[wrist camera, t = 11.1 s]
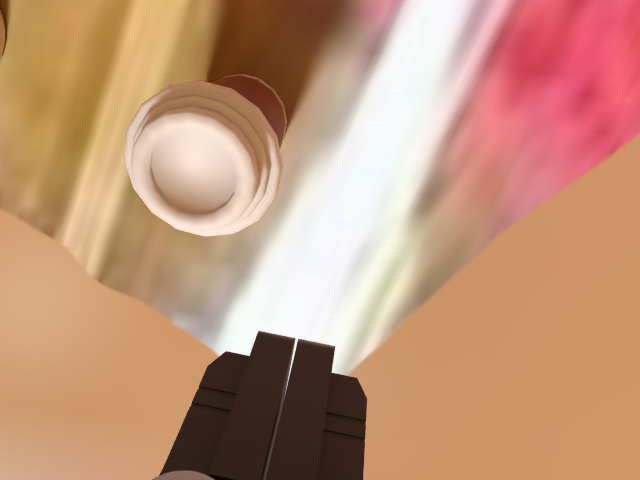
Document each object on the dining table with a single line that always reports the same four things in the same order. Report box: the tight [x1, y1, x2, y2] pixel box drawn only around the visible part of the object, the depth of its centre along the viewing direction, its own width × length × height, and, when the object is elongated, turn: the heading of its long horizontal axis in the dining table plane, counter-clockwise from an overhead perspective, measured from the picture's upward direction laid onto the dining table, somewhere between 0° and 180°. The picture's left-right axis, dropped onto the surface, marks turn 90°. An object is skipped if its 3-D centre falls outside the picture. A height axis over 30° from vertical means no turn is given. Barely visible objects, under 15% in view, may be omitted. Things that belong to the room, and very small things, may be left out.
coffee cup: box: [125, 74, 287, 236], centre depth 38 cm, size 9×9×12 cm
